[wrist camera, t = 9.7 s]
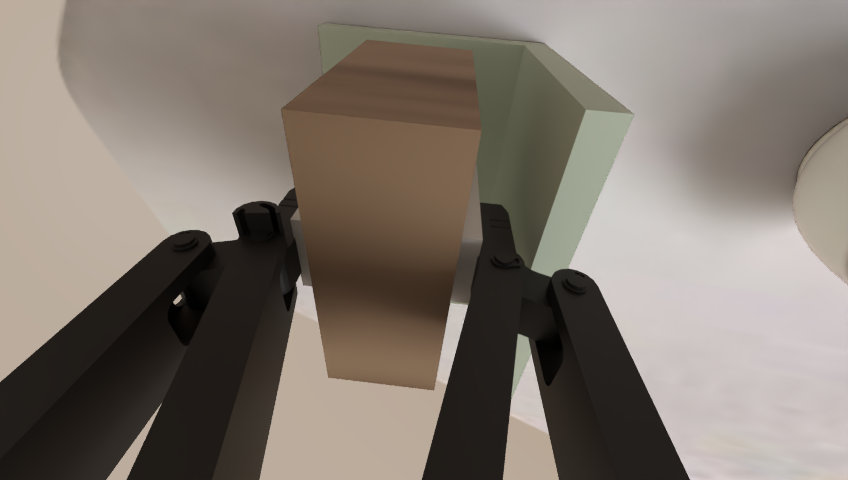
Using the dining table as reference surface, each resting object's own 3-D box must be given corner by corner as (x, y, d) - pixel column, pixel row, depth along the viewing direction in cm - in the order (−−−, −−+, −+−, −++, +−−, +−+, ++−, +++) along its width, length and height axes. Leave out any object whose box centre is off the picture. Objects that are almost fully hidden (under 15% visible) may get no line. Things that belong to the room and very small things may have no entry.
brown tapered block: (362, 39, 13) (273, 108, 7) (472, 50, 13) (481, 130, 7) (368, 243, 19) (324, 377, 13) (443, 252, 19) (434, 390, 13)
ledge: (325, 23, 18) (197, 72, 9) (544, 43, 17) (634, 114, 9) (347, 281, 29) (299, 417, 20) (482, 295, 28) (494, 438, 20)
